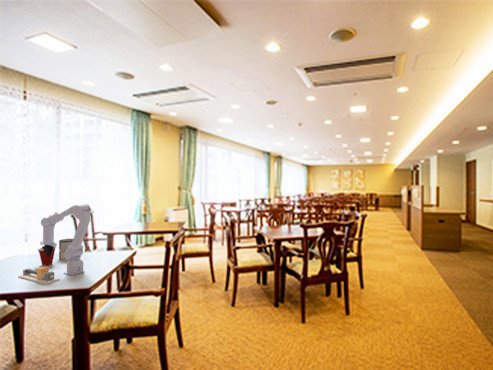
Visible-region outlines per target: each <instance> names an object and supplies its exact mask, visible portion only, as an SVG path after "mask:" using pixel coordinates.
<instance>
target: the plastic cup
mask: <svg viewBox="0 0 493 370" xmlns="http://www.w3.org/2000/svg"><path fill="white" fill-rule="evenodd" d="M56 248H57V246H55V247H54V248H53V250H52V253H51V256H50V257H46V255H45V252H44V250H43V248H42V247H41V248H37V251H38V254H39V258H40V261H41V265H42V267H44V266H45V267H47V266H50V265H53V260H54V256H55V251H56Z"/></svg>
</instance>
